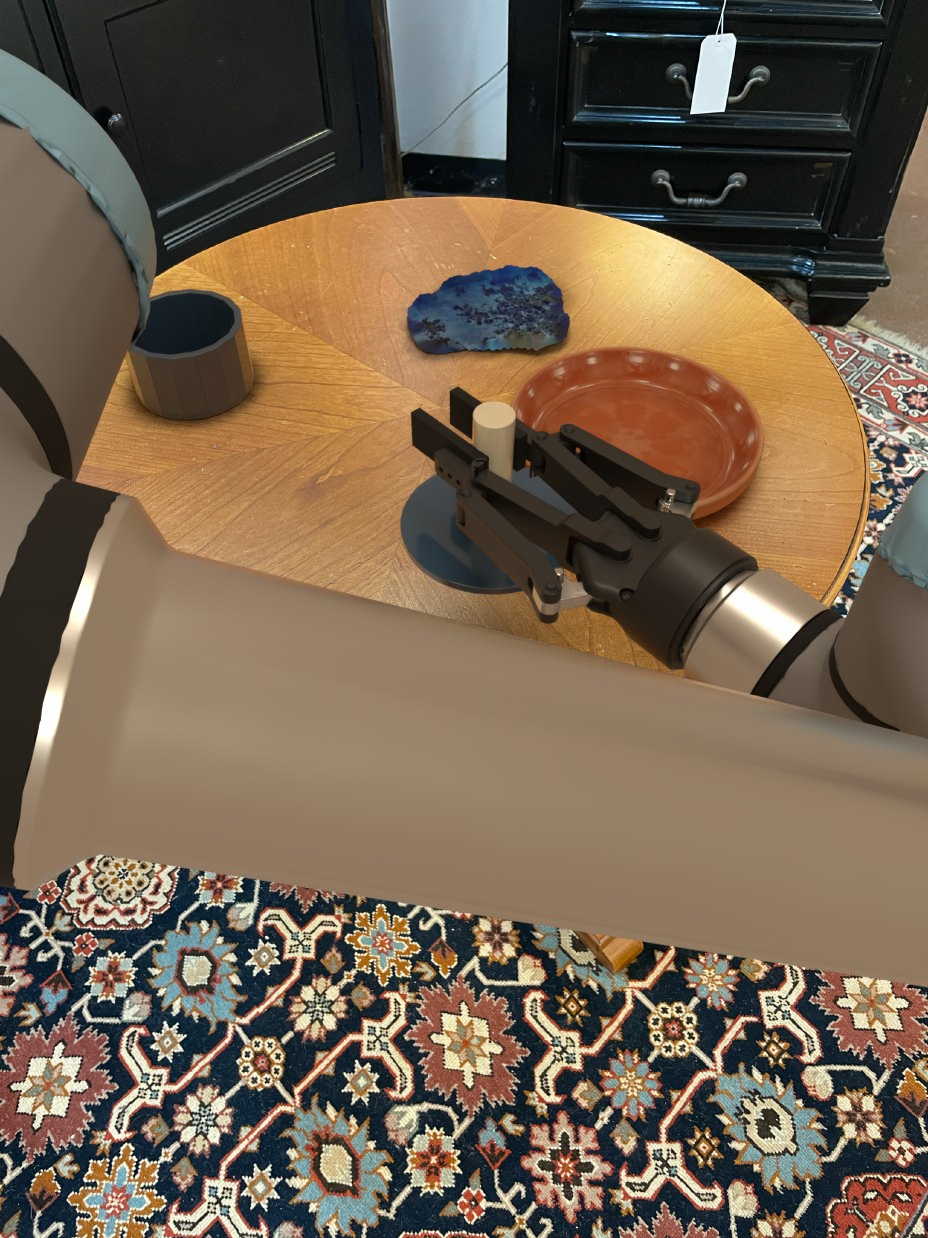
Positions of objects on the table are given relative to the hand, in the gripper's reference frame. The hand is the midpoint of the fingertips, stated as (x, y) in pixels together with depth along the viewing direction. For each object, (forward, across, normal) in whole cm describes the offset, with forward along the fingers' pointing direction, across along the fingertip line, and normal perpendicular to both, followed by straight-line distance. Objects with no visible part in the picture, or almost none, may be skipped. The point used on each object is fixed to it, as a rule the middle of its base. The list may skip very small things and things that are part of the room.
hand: (435, 416), depth 63 cm
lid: (-5, 0, -6) cm, 8 cm away
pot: (+38, +1, -19) cm, 42 cm away
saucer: (+2, +25, -19) cm, 31 cm away
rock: (+27, +30, -19) cm, 44 cm away
